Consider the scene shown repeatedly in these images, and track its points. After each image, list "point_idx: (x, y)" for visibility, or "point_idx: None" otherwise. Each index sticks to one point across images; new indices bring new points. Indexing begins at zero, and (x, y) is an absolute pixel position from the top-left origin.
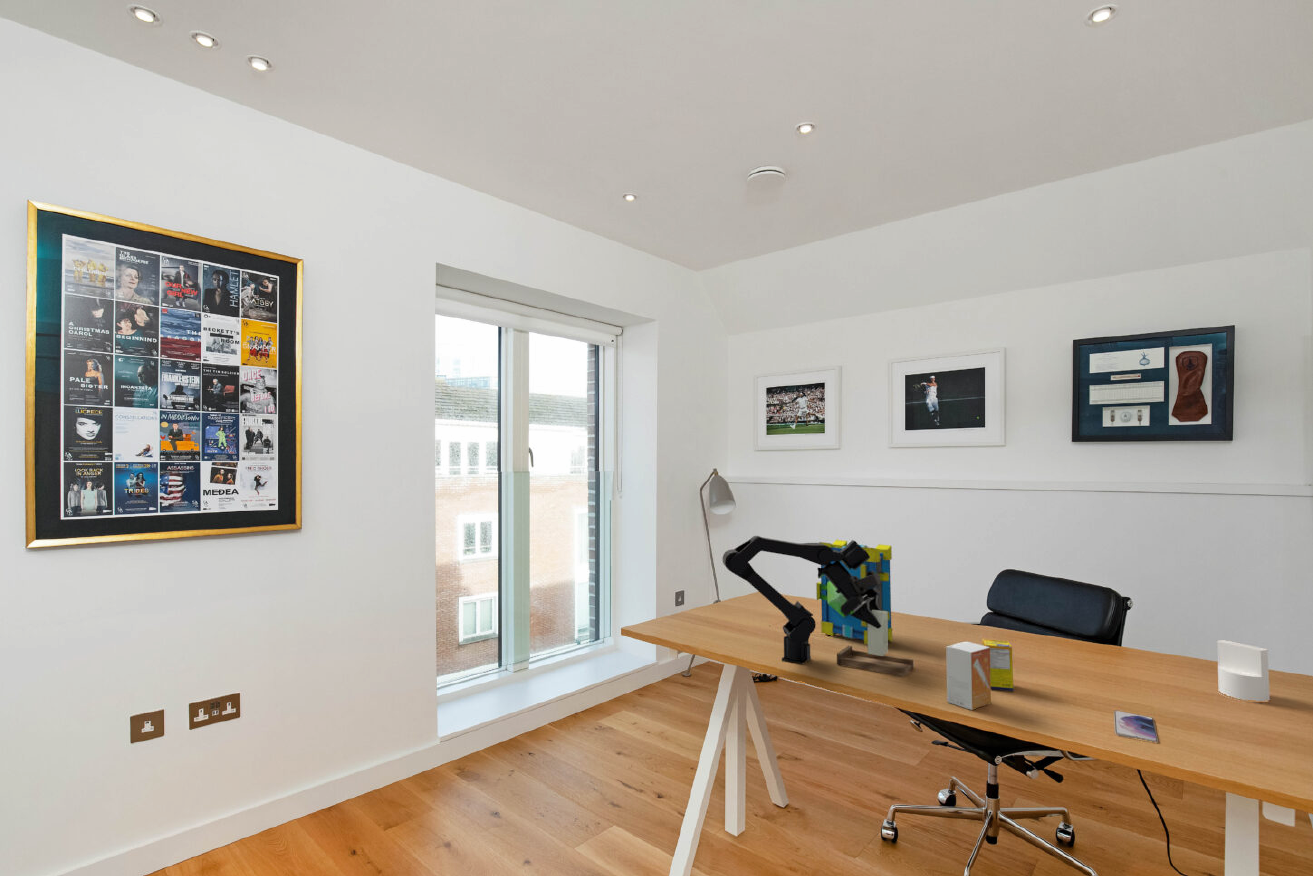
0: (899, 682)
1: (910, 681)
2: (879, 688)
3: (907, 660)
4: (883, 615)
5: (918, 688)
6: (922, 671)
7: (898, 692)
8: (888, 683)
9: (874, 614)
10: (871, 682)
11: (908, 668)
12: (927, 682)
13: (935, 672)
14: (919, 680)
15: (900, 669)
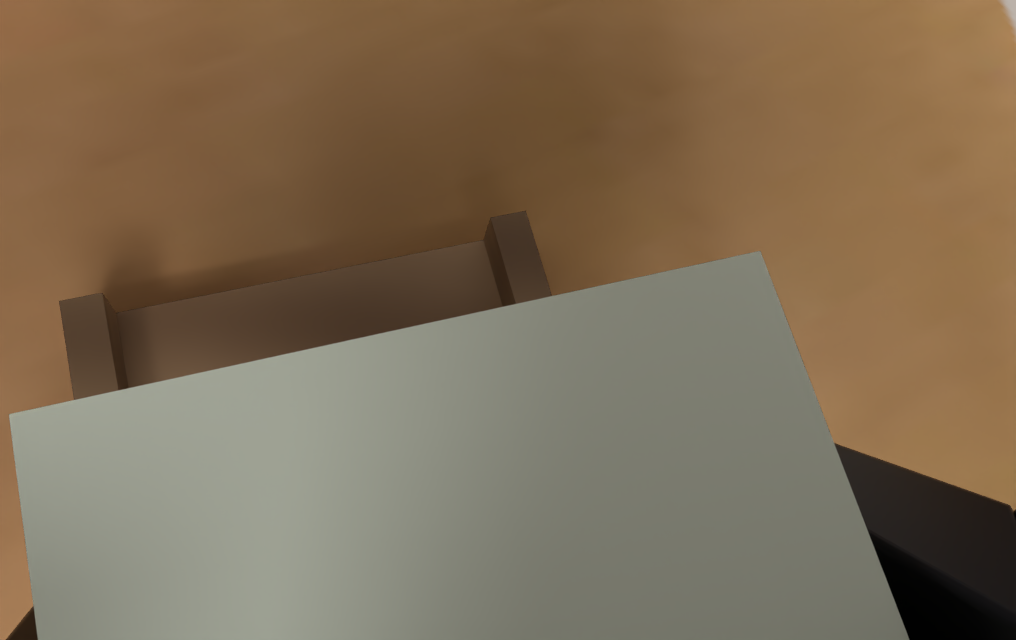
0: (697, 211)
1: (584, 152)
2: (991, 260)
3: (114, 358)
4: (617, 294)
5: (698, 31)
6: (163, 201)
7: (928, 105)
8: (810, 268)
9: (863, 548)
10: (927, 396)
11: (294, 286)
12: (480, 36)
13: (93, 93)
14: (485, 106)
15: (535, 255)
